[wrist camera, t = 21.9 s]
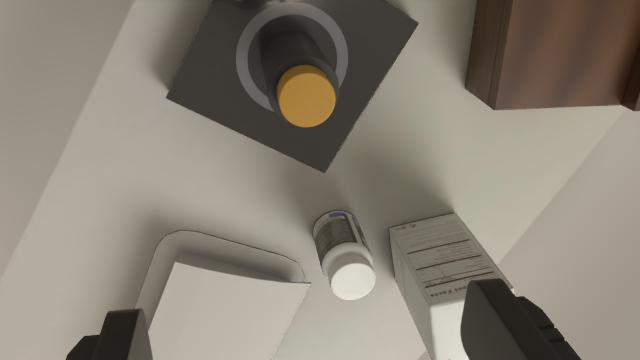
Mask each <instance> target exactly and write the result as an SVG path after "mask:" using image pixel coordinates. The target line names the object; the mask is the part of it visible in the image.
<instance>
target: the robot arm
mask: <svg viewBox="0 0 640 360" xmlns="http://www.w3.org/2000/svg"><path fill="white" fill-rule="evenodd" d="M460 335H461V341H462V345H463V348H464V351H465V353H466V355H467V356H468V358H469V360H581V359H580V357H579V356H578V355H577V354H576V352H575V351H574V350H573V348H572V347H571V346H570V345H569V344H568V342H567V341H565V340H564V337H563V336H562V334H561V333H560V332H559V331H558V329H557V328H554V324H553V323H552V322H551V321H550V319H549V318H548V317H547V315H546V314H545V313H544V312H543V310H542V309H540V308H539V307H538V306H536V305H535V304H534V303H532V302H531V301H529V300H528V299H526V298H525V297H524V296H522V297H515V295H514V294H513V292H512V291H511V290H510V288H509V287H508V286H507V284H506V283H505V282H504V281H503V280H502V279H501V278H492V279H481V280H471V281H470V282H469V283H468V286H467V291H466V296H465V302H464V308H463V314H462V319H461V325H460ZM66 360H153V356H152V350H151V345H150V339H149V334H148V329H147V324H146V318H145V313H144V311H143V309H142V308H139V309H128V310H116V311H109V312H108V313H107V315H106V318H105V321H104V324H103V327H102V330H101V333H100V335H92V336H84V337H83V338H82V339H81V340H80V341H79V342H78V344H77V345H76V346H75V347H74V348H73V349H72V350H71V351H70V352H69V354H68V355H67V358H66Z"/></svg>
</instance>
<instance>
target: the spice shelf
mask: <svg viewBox="0 0 640 360" xmlns="http://www.w3.org/2000/svg"><path fill="white" fill-rule="evenodd" d="M465 89H466V90H468V91H469V92H470V93H472V94H473V95H474V96H476V97H477V98H479V99H480V100H481V101H483V102H484V103H485V104H487V105H488V106H489V107H490V108H492V109H493V110H513V109H537V108H561V107H584V106H608V105H622V106H624V107H626V108H628V109H631V110H633V111H640V0H478V1H477V8H476V15H475V22H474V29H473V36H472V43H471V50H470V57H469V64H468V71H467V78H466V86H465Z"/></svg>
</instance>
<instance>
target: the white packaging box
mask: <svg viewBox="0 0 640 360" xmlns="http://www.w3.org/2000/svg"><path fill="white" fill-rule="evenodd" d="M389 233H390V243H391V250H392V257H393V265H394V272H395V279H396V283H397V285H398V287H399V289H400V291H401V294H402V296H403V298H404V300H405V302H406V305H407V307H408V309H409V311H410V313H411V316H412V318H413V320H414V322H415V324H416V327H417V329H418V331H419V333H420V335H421V338H422V340H423V342H424V344H425V346H426V349H427V351H428V353H429V355H430V357H431V359H432V360H469V358H468V356H467V355H466V353H465V351H464V348H463V345H462V341H461V335H460V325H461V319H462V314H463V308H464V302H465V296H466V291H467V286H468V283H469V282H470V281H471V280H481V279H492V278H501V279H502V280H503V281H504V282H505V283H506V284H507V286H508V287H509V288H510V290H511V291H512V292H513V294H514V288H513V286H512V285H511V284H510V283H509V281H508V280H507V279H506V277H505V276H504V275H503V273H502V272H501V271H500V270H499V268H498V267H497V266H496V264H495V263H494V262H493V260H492V259H491V258H490V256H489V255H488V254H487V252H486V251H485V250H484V248H483V247H482V246H481V244H480V243H479V242H478V241H477V239H476V238H475V237H474V235H473V234H472V233H471V231H470V230H469V229H468V228H467V226H466V225H465V224H464V222H463V221H462V220H461V219H460V217H459V216H458V215H457V214H456V213H453V214H448V215H443V216H439V217H434V218H430V219H425V220H421V221H417V222H412V223H408V224H404V225H400V226H395V227H391V228H389Z"/></svg>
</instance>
